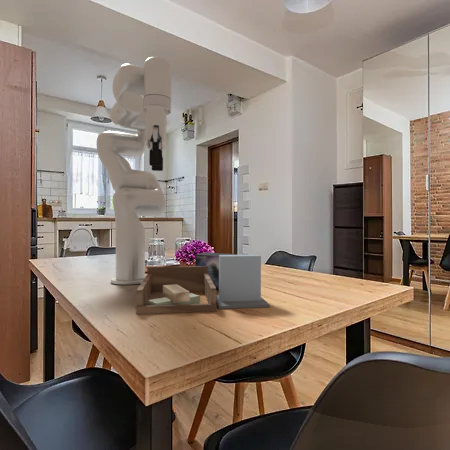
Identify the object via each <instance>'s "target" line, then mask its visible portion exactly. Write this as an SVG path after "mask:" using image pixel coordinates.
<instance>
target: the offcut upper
mask: <svg viewBox="0 0 450 450" xmlns="http://www.w3.org/2000/svg"><path fill="white" fill-rule="evenodd" d="M190 292H191V291H187V290H186V289H184V288H182V287H181V286H179V285H177V284H174V285H163V292H162V295H163V296H165V297H167V298H168V299H170V300H171V301H172V302H173V303H180V302H190Z"/></svg>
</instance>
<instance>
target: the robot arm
mask: <svg viewBox="0 0 450 450" xmlns="http://www.w3.org/2000/svg"><path fill="white" fill-rule="evenodd" d="M172 71H173V70H172V64H171V62H170V61H169V60H167V58H164V57H160V56H150V57H148V58H147V59H146V60H145V61H144V63H143V67H142V66H140V65H135V64H132V63H131V64H130V63H124V64H122V65H120V67H119V68H118V69H117V71H116V73H115V75H114V76H113V80H112V81H113V82H112V93H113V97H114V99H115V103H114V104H113V106H112V107H111V109H110V110H109V111H110V112H109V118H110V120H111V122H112V123H113V124H114V125H115V126H117V127H120V128H123V129H124V128H125V129H129V130H137V131H136V133H135V134H134V133H127V132H121V131H115V130H114V131H113V130H112V131H111V130H107V131H103V132H101V133H99V134H98V135H97V137H96V151H97V154H98V157H99V160H100V162H101V163H102V165H103V166H104V169H106V171H107V174H108V177H109V180H110V183H111V187H112V189H113V191H114V193H113V194H112V204H113V213H114V220H115V221H114V222H115V277H112V278H110V283H111V284H114V285H125V286H126V285H138V284H141V283H142V281H143V280H144V279H145V277H146V276H147V275H146V229H145V227H144V225H143V223H142V222H141V220H140V219H139V217H140V218H141V217H160V216H162V215H163V214H164V213H165V211H166V208H167V206H166V205H167V201H166V197H165V194H164V191H163V190H162V187H161V184H160V183H159V180H158V179H157V176H156V175H155V174H154V173H153V172H151V171H156V172H163V170H164V157H163V150H164V149H165V146H166V138H167V119H168V117H167V115H170V114H171V113H172V76H173V75H172V74H173V73H172ZM146 147H147V149H149V155H148V156H149V159H148V161H149V166H150V167H151V171H146V170H137V169H134V168H133V169H132V166H131V164H130V162H129V161H128V160H127V159H126V158H125V157H124V156H126V157H127V156H128V157H137V158H139V157H142V156H143V154H144V153H145V150H146Z"/></svg>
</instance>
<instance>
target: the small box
mask: <svg viewBox="0 0 450 450" xmlns="http://www.w3.org/2000/svg"><path fill="white" fill-rule="evenodd" d="M219 255H235V254H234V253H222V252H201V253H197V254H195V265H194V266H208V275H209V276H210V278H211V280H212V282H213V284H214V285H215V287H216V291H219Z"/></svg>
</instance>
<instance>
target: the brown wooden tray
mask: <svg viewBox="0 0 450 450" xmlns="http://www.w3.org/2000/svg"><path fill="white" fill-rule="evenodd" d="M146 270H147V271H146V272H147V274H146V275H145V276H146V277H145V279H144V280H143V281H142V283H140V285H139V286H138V288H137V289H136V293H135V294H136V295H135V296H136V303H135V304H136V307H135V314H136V315H148V314H150V315H151V314H155V315H156V314H176V313H177V314H179V313H180V314H181V313H182V314H183V313H205V312H206V313H207V312H209V313H210V312H217V303H216V295H217V290H216V287H215V285H214V284H213V282H212V280H211V278H210V276H209V275H208V266H195V265H193V266H190V265H189V266H187V265H185V266H181V265H180V266H147V267H146ZM174 284H177V285H179V286H181V287H182V288H184V289H186V290H187V291H189V292H194V291H197V292H198V291H203V293H204V296H205V297H206V302H207V303H200V304H179V305H148V300H150V299H149V298H150V296H151V294H152V293H155V292H160V293H161V292H162V293H163V285H174Z"/></svg>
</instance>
